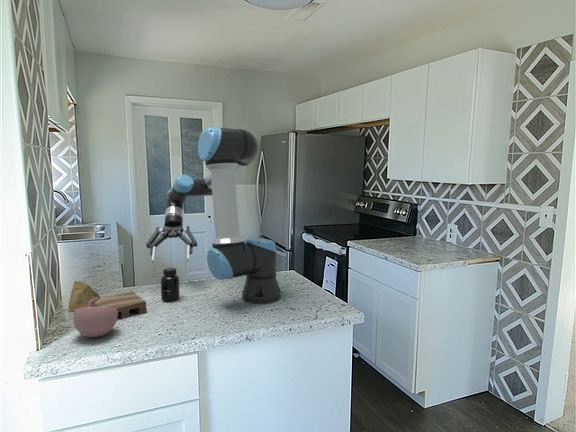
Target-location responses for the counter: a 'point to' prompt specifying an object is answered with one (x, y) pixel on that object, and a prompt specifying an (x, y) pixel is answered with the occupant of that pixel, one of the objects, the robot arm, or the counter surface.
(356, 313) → the counter surface
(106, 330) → the mortar and pestle
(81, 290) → the rock
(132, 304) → the block
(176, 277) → the supplement bottle
